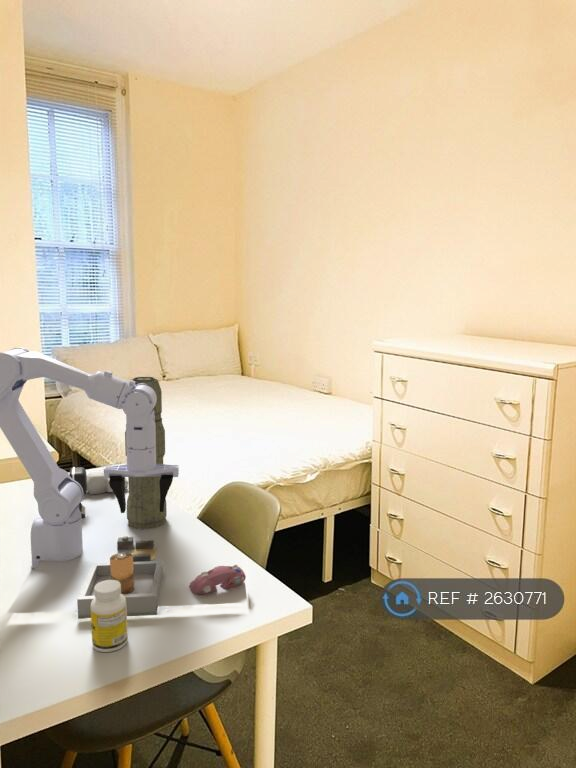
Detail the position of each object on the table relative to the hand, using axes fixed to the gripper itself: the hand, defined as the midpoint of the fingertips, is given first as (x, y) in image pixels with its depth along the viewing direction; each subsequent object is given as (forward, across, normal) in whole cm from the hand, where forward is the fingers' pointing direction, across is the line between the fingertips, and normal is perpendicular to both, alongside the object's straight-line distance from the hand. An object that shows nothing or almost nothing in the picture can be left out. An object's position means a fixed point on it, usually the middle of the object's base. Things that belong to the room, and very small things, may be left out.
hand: (142, 510), depth 121 cm
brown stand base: (+10, 0, -1) cm, 10 cm away
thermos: (+11, -1, +16) cm, 19 cm away
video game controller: (+11, +15, -15) cm, 24 cm away
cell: (+10, -2, -15) cm, 18 cm away
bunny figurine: (+11, -17, +41) cm, 45 cm away
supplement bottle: (+11, -2, -29) cm, 31 cm away
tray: (+10, -2, -15) cm, 18 cm away
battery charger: (+11, -18, +25) cm, 33 cm away
